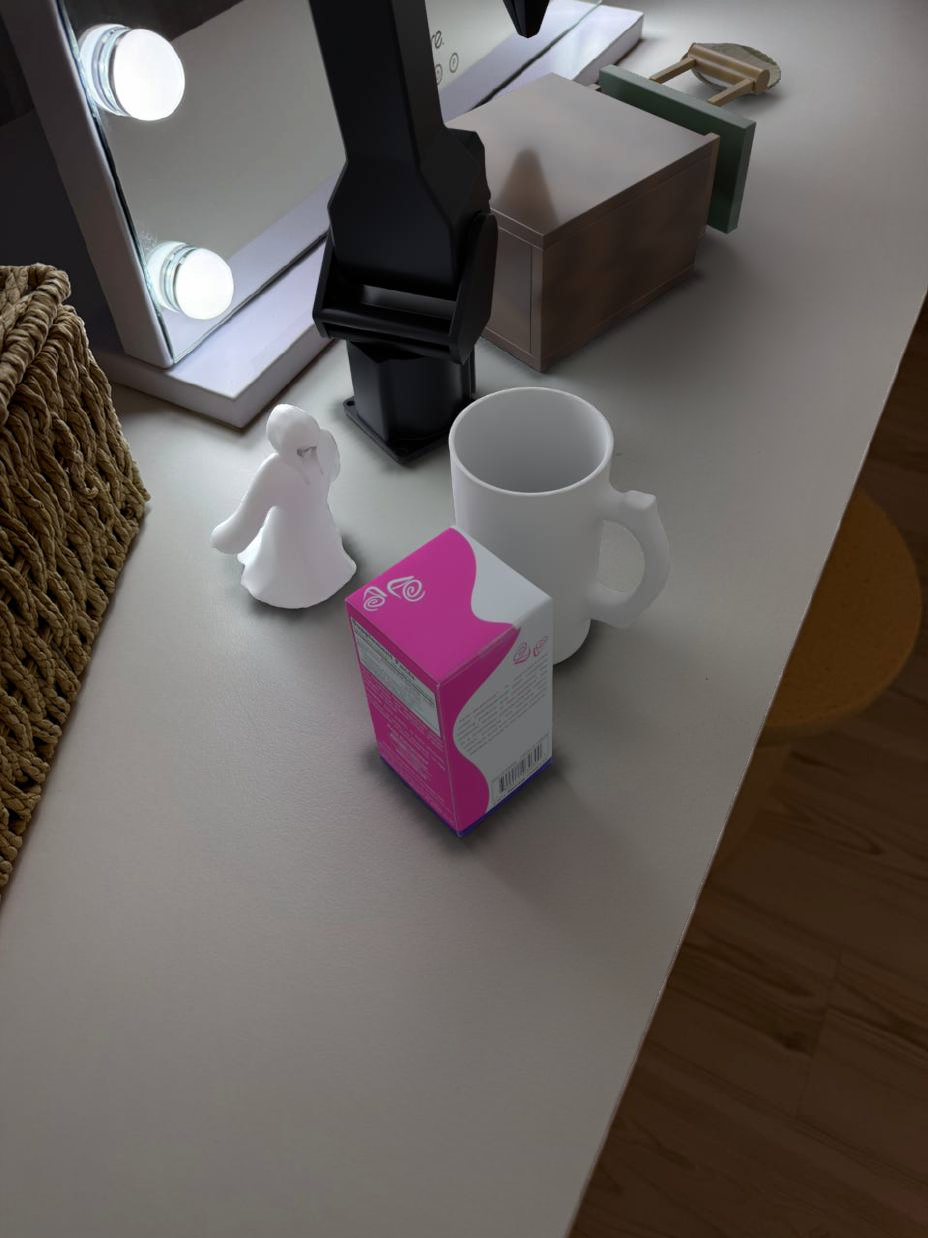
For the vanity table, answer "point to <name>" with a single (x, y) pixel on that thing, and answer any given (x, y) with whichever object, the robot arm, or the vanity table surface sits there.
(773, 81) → the seashell
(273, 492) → the figurine
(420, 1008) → the vanity table surface
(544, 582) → the mug
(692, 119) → the drawer
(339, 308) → the robot arm
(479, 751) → the supplement box
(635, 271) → the cabinet
